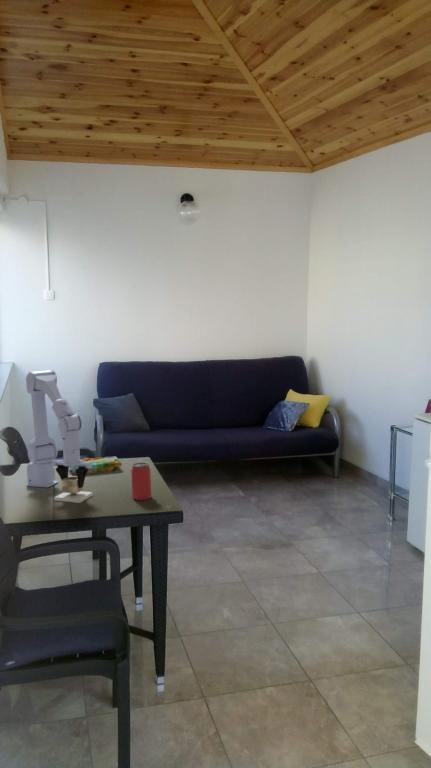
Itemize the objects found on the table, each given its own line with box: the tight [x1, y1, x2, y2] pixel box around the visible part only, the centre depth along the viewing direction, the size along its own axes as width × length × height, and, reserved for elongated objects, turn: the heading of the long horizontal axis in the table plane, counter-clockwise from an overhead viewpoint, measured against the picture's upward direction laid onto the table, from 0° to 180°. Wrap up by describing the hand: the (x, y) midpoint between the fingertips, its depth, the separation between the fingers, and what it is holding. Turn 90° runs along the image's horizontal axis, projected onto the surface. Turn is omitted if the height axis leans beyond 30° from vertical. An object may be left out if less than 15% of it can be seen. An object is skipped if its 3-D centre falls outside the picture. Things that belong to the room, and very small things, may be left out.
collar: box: [61, 475, 85, 493], centre depth 236 cm, size 6×6×4 cm
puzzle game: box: [69, 455, 122, 476], centre depth 275 cm, size 12×5×20 cm
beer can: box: [130, 462, 152, 501], centre depth 234 cm, size 7×7×12 cm
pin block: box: [54, 490, 94, 504], centre depth 236 cm, size 10×9×5 cm
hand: (73, 486), depth 236 cm, fingers closed on collar, 6 cm apart
